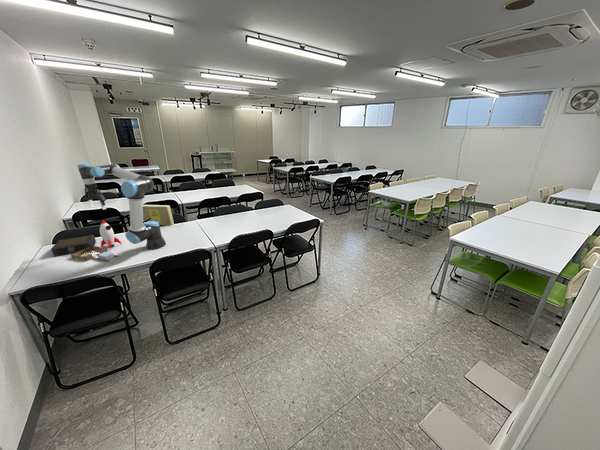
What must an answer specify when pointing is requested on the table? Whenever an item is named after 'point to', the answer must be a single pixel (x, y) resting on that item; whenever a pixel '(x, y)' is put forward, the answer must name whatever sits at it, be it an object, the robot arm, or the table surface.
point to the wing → (106, 255)
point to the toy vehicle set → (158, 214)
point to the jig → (89, 256)
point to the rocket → (107, 235)
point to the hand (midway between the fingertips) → (98, 208)
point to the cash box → (72, 245)
